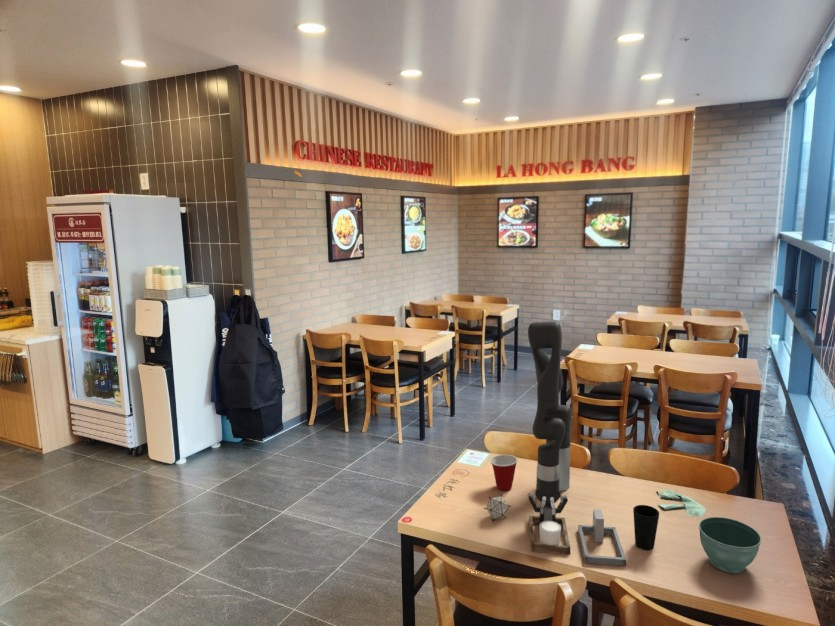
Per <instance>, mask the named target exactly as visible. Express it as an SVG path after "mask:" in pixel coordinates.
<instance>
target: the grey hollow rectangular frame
mask: <svg viewBox="0 0 835 626" xmlns="http://www.w3.org/2000/svg"><path fill="white" fill-rule="evenodd" d="M577 533H578V538H579V541H580V545H581V551H582V554H583V560H584V563H586V564H597V565H599V564H600V565H612V566H623V567H626V566H627V557H626V555H625V551H624V548H623V545H622V543H621V540H620V537H619V534H618V531H617V528H616V527H615V526H605V518H604V515H603V512H602V509H597V508H594V509H592V525H587V524H585V525H584V524H577ZM584 533H586V534H587V533H589V534H593V539H594V542H595V543H596V542H597V543H600V542H601V543H604V535H605V534H606V535H612V537H613V539H614V543H615V546H616V549H617V553H618V555H619V557H618V556H605V555H593V554H589V553H588V548H587V544H586V543H587V542H586V540H585V537H584Z"/></svg>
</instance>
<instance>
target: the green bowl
mask: <svg viewBox="0 0 835 626" xmlns="http://www.w3.org/2000/svg"><path fill="white" fill-rule="evenodd" d="M698 529H699V539H700V543H701V546H702V549H703V550H704V552H705V554H706V556H707V557H708V559H709V560H708V561H709V563H710V564H711V565H712V566H713V567H715V568H716V569H718V570H720V571H722V572H726V573H730V574H741V573H743V572H744V571H745V569H746V568H747V567H748V566H749V565H750V564H752V563H753V562H754V560H755V559H756V557H757V555H758V552H759V549H760V545H761V542H762V537H761V535H760V533H759V532H758V531H757V530H756V529H755V528H754V527H752V526H750V525H748V524H746V523H744V522H741V521H739V520H736V519H734V518H728V517H724V516H723V517H722V516H711V517H706V518H703V519H702V520H700V521H699V524H698Z"/></svg>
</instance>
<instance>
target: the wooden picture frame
mask: <svg viewBox="0 0 835 626" xmlns="http://www.w3.org/2000/svg"><path fill="white" fill-rule="evenodd" d="M528 518H529V519H528V523H529V524H528V525H529V538H530V550H531V551H530V552H538V553H539V552H541V553H551V554H552V553H553V554H564V555H565V554H567V555H571V544H570V540H569V534H568V528H567V524H566V523H567V522H566V520H565V519H566V518H565V517H560V516H559V517H557V516H556V519H555V522H556V523H558V524H559V525H560V526H561V530H562V533H563V538H564V539H563V540H564V545H560V544H559V545H545V544H541V543H535V536H534V535H535V534H534V524H536V523H537V524H540V523H541V522H540V515H529V517H528ZM544 521H552V508H551V505H548V504H547V505H545V507H544Z"/></svg>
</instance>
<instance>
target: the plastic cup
mask: <svg viewBox="0 0 835 626" xmlns="http://www.w3.org/2000/svg"><path fill="white" fill-rule="evenodd" d="M489 462H490V464H491V467H492V469H493V475H494V480H495V485H496V489H498V490H499V491H501V492H508V491H511V490H512V487H513V482H514V478H515V472H516V467H517V463H518V457H516V456H515V455H510V454H497V455H494V456H492V457H490V460H489Z"/></svg>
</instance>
